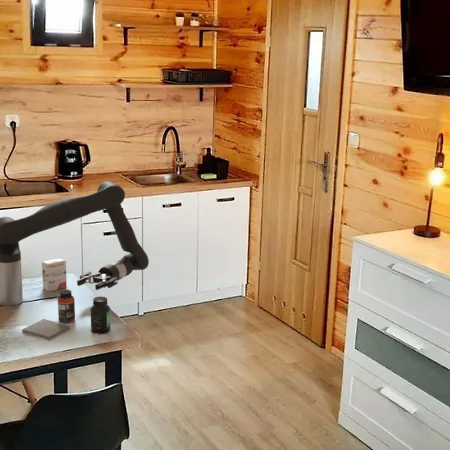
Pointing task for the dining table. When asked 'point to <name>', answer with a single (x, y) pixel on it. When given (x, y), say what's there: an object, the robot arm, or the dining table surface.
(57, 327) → the slate tile
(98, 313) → the supplement bottle
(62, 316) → the supplement bottle
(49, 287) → the ink box
